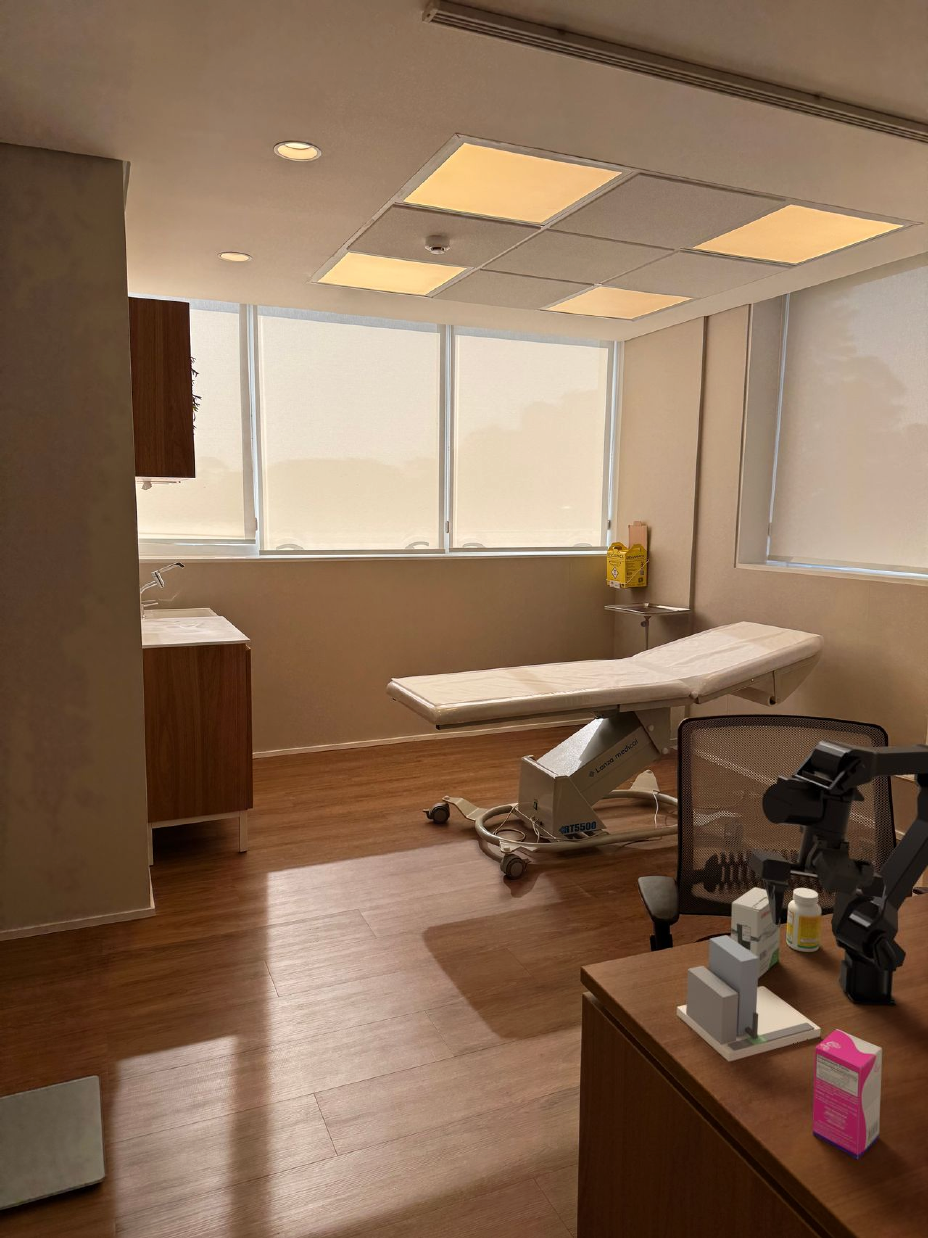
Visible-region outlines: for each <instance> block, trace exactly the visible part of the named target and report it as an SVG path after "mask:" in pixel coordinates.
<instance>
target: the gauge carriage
mask: <svg viewBox="0 0 928 1238" xmlns="http://www.w3.org/2000/svg"><path fill="white" fill-rule="evenodd" d="M758 963H759V958H758V957H757V956H756V955H754V954H753V953H751V952H750V951H748V950H747V949H746V948H744V947H743V946H741V945H740V944H738V943H737V942H736V941H734V940H733V939H731V936H728V935H726V934H725V935H721V936H717V937H712V938H709V947H708V970H709V971H710V972H711V973H713V974H714V975H715V976H716V977H718V978H719V979H720V980H722V981H723V982H724V983H725V984H727V985H728V986H729V987H730V988H732V989H733V990H734V991H736V992H737V993H738V1011H737V1035H742V1034H746V1033H747V1034H748V1035H750V1036H751V1037H752V1038H753V1039H757V1038H758V1034H757V1032H758V1013H756V1006H757V987H758V981H759V980H758V979H759V978H758Z"/></svg>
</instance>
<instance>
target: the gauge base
mask: <svg viewBox="0 0 928 1238" xmlns="http://www.w3.org/2000/svg"><path fill="white" fill-rule="evenodd" d="M686 984H687V985H686V1004H683V1005H680V1006H679V1005H678V1006H677V1007H676V1016H678V1017H679V1018H680V1019H681V1020H682V1021H683V1022H684V1023H686V1025H687V1026H689V1027H690V1028H691V1029H692V1030H693V1031H694V1032H695V1033H697V1035H699V1036H700V1037H701V1038H702V1039H703V1040H704V1041H705V1042H707V1043H708V1044H709V1046H711V1047H712V1048H713V1049H714V1050H715V1051H717V1052H718V1054H719V1055H721V1056H722V1057H723V1058H724V1059H725V1060H726V1061H727V1062H732V1061H736V1060H740V1059H743V1058H746V1057H750V1056H754V1055H758V1054H762V1053H765V1052H768V1051H772V1050H775V1049H779V1048H783V1047H787V1046H790V1045H794V1044H797V1042H798V1043H800V1042H803V1041H808V1040H812V1039H815V1038H819V1037H821V1032H822V1031H821V1029H822V1028H821V1027H820V1026H818V1025H817V1024H815V1023H814V1022H813V1021H812V1020H810V1019H809V1018H808V1017H806V1016H805V1015H803V1013H801V1012H799V1011H798V1010H797V1009H795V1008H794V1007H793V1006H791V1005H790V1004H789V1003H787V1002H786V1001H785V1000H783V999H782V998H780V997H779V996H778V995H776V994H775V993H774V992H772V991H771V990H769V989H768V988H767V987H765V986H764V985H762V986H757V1006H756V1013H758V1032H757V1034H758V1038H757V1039H753V1038H752V1037H751V1036H750V1035H748V1034H747V1033H746V1034H742V1035H737V1011H738V993H737V992H736V991H734V990H733V989H732V988H730V987H729V986H728V985H727V984H725V983H724V982H723V981H722V980H720V979H719V978H718V977H716V976H715V975H714V974H713V973H711V972H710V971H709V969H708V968H706V967H705V966H704V965H699V966H696V967H695V966H694V967H691V968H688V969H687V983H686ZM807 1039H808V1040H807ZM793 1043H794V1044H793Z"/></svg>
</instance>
